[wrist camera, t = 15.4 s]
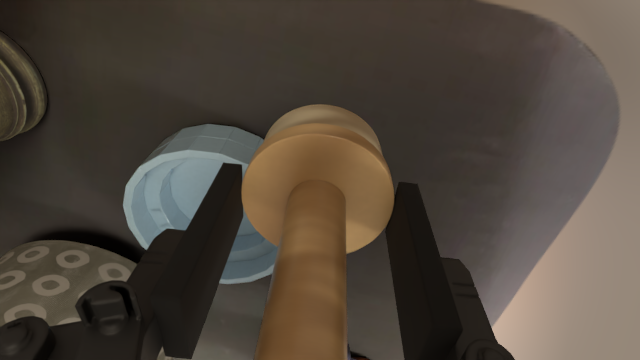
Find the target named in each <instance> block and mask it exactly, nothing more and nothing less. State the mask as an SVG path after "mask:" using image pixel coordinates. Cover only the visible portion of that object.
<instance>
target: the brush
mask: <svg viewBox="0 0 640 360" xmlns="http://www.w3.org/2000/svg"><path fill="white" fill-rule="evenodd" d="M241 193H242V204H243V207H244V211H245V213H246V215H247V217H248V219H249V221H250V222H251V224H252V225H253V227H254V228H255V229H256V230H257V231H258V232H259V233H260V234H261V235H262V236H263V237H264V238H265V239H267V240H268V241H269V242H271V243H272V244H274V245H276V246H277V247H278V250H277V254H276V259H275V263H274V268H273V273H272V277H271V282H270V286H269V291H268V296H267V300H266V305H265V309H264V314H263V318H262V323H261V328H260V332H259V337H258V341H257V346H256V351H255V355H254V360H347V265H346V254H347V253H350V252H353V251H356V250H358V249H360V248H362V247H364V246H365V245H367V244H369V243H370V242H371V241H373V240H374V239H375V238H376V237H377V236H378V235H379V234H380V233H381V232H382V231H383V229H384V228H385V227H386V225H387V223H388V221H389V220H390V217H391V215H392V212H393V207H394V196H395V194H394V188H393V182H392V178H391V173H390V170H389V167H388V165H387V163H386V161H385V159H384V157H383V156H382V151H381V146H380V143H379V140H378V138H377V136H376V134H375V133H374V131H373V130H372V128H371V127H370V126H369V125H368V124H367V123H366V122H365V121H364V120H363V119H361V118H360V117H359V116H357V115H356V114H354V113H353V112H350V111H348V110H346V109H343V108H340V107H337V106H332V105H322V104H318V105H308V106H303V107H300V108H297V109H294V110H292V111H290V112H288V113H286V114H285V115H283V116H282V117H281V118H279V119H278V120H277V121H276V122H275V123H274V124H273V126H272V127H271V128H270V129H269V131H268V133H267V134H266V137H265V139H264V142H263V144H262V145H261V146H260V147H259V148H258V149H257V150H256V152H255V153H254V155H253V157H252V158H251V160H250V163H249V165H248V167H247V170H246V172H245V175H244V177H243V181H242V190H241Z"/></svg>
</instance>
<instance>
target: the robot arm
mask: <svg viewBox="0 0 640 360" xmlns="http://www.w3.org/2000/svg"><path fill="white" fill-rule="evenodd" d="M241 190H242V164H233V163H224V162H223V164H222V166H221V168H220V169H219V171H218V173H217V175H216V177H215V178H214V180H213V182H212V184H211V186H210V187H209V189H208V191H207V193H206V195H205V197H204V198H203V200H202V202H201V204H200V206H199V207H198V209H197V211H196V213H195V215H194V216H193V218H192V220H191V222H190V224H189V225H188V227H187V229H186V230H178V229H169V228H167V229H166V230H164V231H163V232H162V233H160V234H159V235H158V236H156V237H155V238H154V239H153V241H152V242H151V244H150V245H149V247H148V249H147V251H146V252H145V253H144V255H143V256H142V258H141V259H140V262H139V263H138V264H137V266H136V267H135V269H134V270H133V272H132V273H131V275H130V276H129V278H128V280H127V281H126V282H125V281H122V280H110V281H107V282H103V283H99V284H97V285H96V286H94V287H92V288H90V289H88V290H87V291H86V292H85V293H84V294H83V295H82V296H81V297H80V298H79V299H78V301H77V303H76V305H75V308H76V310H77V312H78V314H79V317H80V319H81V321H77V322H71V323H66V324H60V325H54V326H49V325H48V323H47V322H46V321H45V320H44V319H43V318H40V317H36V316H28V317H21V318H18V319H15V320H12V321H10V322H8V323H6V324H4V325H3V326H1V327H0V360H157V358H158V355H159V353H160V351H161V349H162V346H163V350H164V353H165V356H167V357H176V358H185V359H191V358H192V355H193V353H194V350H195V347H196V344H197V342H198V339H199V336H200V334H201V331H202V328H203V325H204V323H205V320H206V317H207V314H208V312H209V309H210V306H211V304H212V301H213V298H214V295H215V293H216V290H217V287H218V284H219V282H220V279H221V276H222V274H223V271H224V268H225V265H226V263H227V260H228V257H229V255H230V252H231V249H232V246H233V244H234V241H235V238H236V235H237V233H238V230H239V227H240V225H241V222H242V219H243V204H242V193H241ZM386 239H387V245H388V252H389V258H390V265H391V272H392V278H393V285H394V292H395V298H396V305H397V312H398V318H399V325H400V332H401V338H402V345H403V352H404V358H405V360H515V359H514V358H513V356H512V355H511V353H509V352H508V351H507V350H506V349H505V348H504V347H503V346H502V345H500V344H498V342H497V340H496V339H495V336H494V333H493V331H492V328H491V326H490V323H489V320H488V318H487V315H486V313H485V310H484V308H483V305H482V303H481V300H480V298H479V295H478V292H477V290H476V287H474V282H473V280H472V277H471V274H470V272H469V271H468V269H467V268H466V267H465V266H464V265H463V264H462V262H461V261H460V260H459V259H451V258H442V257H440V254H439V251H438V248H437V245H436V241H435V238H434V235H433V232H432V229H431V226H430V222H429V219H428V216H427V213H426V210H425V207H424V203H423V200H422V197H421V194H420V191H419V188H418V184H413V183H404V182H399V184H398V187H397V191H396V195H395V198H394V207H393V212H392V215H391V217H390V220H389V221H388V225H387V228H386Z"/></svg>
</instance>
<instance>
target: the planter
mask: <svg viewBox="0 0 640 360" xmlns="http://www.w3.org/2000/svg"><path fill="white" fill-rule="evenodd" d="M136 266H137V264H136V263H134V262H132V261H131V260H129V259H127V258H125V257H122V256H120V255H118V254H116V253H113V252H110V251H108V250H105V249H102V248H99V247H96V246H92V245H88V244H83V243H78V242H72V241H63V240H42V241H34V242H29V243H25V244H22V245H19V246H17V247H15V248H13V249H11V250H10V251H8V252H7V253H6V254H5V255H4V256H2V257H1V258H0V327H1V326H3V325H4V324H6V323H8V322H10V321H12V320H15V319H18V318H21V317H28V316H36V317H40V318H43V319H44V320H45V321H46V322H47V323H48V325H49V326H54V325H60V324H66V323H71V322H77V321H81V319H80V317H79V314H78V312H77V310H76V308H75V305H76V303H77V301H78V299H79V298H80V297H81V296H82V295H83V294H84V293H85V292H86V291H87V290H88V289H90V288H92V287H94V286H96V285H97V284H99V283H103V282H107V281H110V280H122V281H125V282H126V281H127V280H128V278H129V276H130V275H131V273H132V272H133V270H134V269H135V267H136ZM172 359H173V357H167V356H165V353H164V350H163V346H162V349H161V351H160V353H159V355H158V358H157V360H172Z"/></svg>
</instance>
